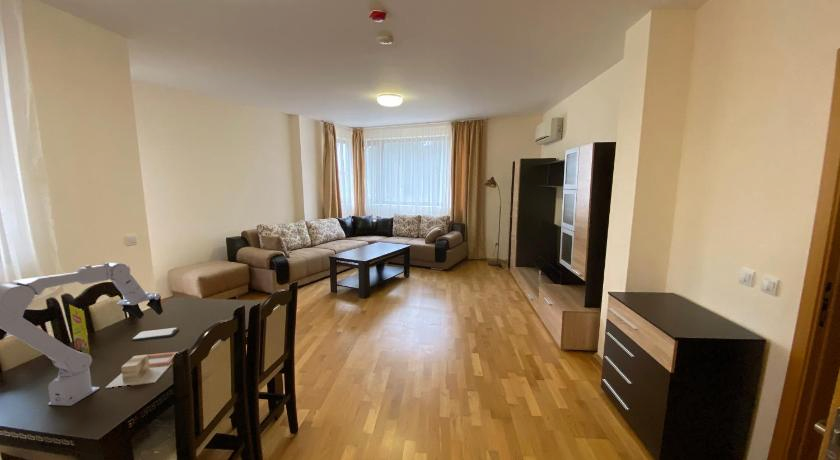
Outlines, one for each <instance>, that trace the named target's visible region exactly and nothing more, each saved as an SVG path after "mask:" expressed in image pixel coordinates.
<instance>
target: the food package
mask: <svg viewBox="0 0 840 460" xmlns="http://www.w3.org/2000/svg"><path fill="white" fill-rule="evenodd" d="M68 307H69V312H70V313H69V315H70V320H71V321H70V322H71V328H72V329H71V330H72V336H73V337H72V338H73V344H74V349H75V350H77V351H78V350H79V352H80V351H81V352H82V353H86V354H89V355H90V346H89V338H88V333H87V325H86V324H87V323H86V322H87V321H86V316H85V310H83V309H80V308H78V307H75V306H74V305H71V304H68ZM90 356H91V355H90Z"/></svg>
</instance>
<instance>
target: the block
mask: <svg viewBox="0 0 840 460" xmlns="http://www.w3.org/2000/svg"><path fill="white" fill-rule="evenodd" d="M148 355H149V354H141V355H140V354H139V355H134V356H132V357H131V358H130V359H128V360H127V362H125V363H124V364H122V366H120V367H121V373H122V378H123V382H132V381H138V380H139V379H140V378H141V377H142V376H143V375H144V374H145V373H146V372H147V371H148V370H149V360H148Z"/></svg>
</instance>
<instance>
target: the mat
mask: <svg viewBox="0 0 840 460" xmlns="http://www.w3.org/2000/svg"><path fill="white" fill-rule="evenodd" d="M170 357H171V356H168V357H159V358H149V359H148V360H149V363H154V362H163V361H168V359H169V358H170ZM172 364H173V363H172V362H171V363H170V364H169V365H163V366H154V367H149V370H148V371H147V372H146V373H145V374H144V375H143V376H142V377H141V378H140V379H139V380H138V381H132V382H123V378H122V372H121V373H120V374H118V376H117V377H115V378H114V379H113V380H112V381H111V382H110V383H109V384H107V386H105V389H113V388H112V387H114V388H119V387H118V386H122V387H128V386H127V385H131V386H137V385H145V384H146V385H147V384H155V383H156V382H157V381H158V380H159V379H160V378H161V377H162V376H163V375H164V374H165V372H166V371H167V370H168V369H169V367H170V366H172Z"/></svg>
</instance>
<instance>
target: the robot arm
mask: <svg viewBox="0 0 840 460" xmlns="http://www.w3.org/2000/svg"><path fill="white" fill-rule="evenodd" d="M108 280H110V281H111V282H112V283H113V285H114V286H115V288H116V289H117V290H118V291H119V292H120V294H121V295H122V296H123V297H124V298H123V299H121V300H119V301H118V302H117V303H116V304H117V305H118V307H119V308H122V309H121V311H122V312H125V313H127V314H130V315H133V316H134V317H136V318H137V319H139V320H140V319H142V318H143V317H144V315H145V314H144V312H143V310H142V309H141V307H140V305H139V304H141V303H143V302H147V301H148V302H147V304H146V306H147V307H149V308H150V309H152V310H153V311H154V312H155V313H156V314H157V315H158V316H160V315H161V314H162V313H163V312H164V310H163V307H162V303H161V301H162V298H161V297H162V295H161V294H160V293H159V292H147V290H144V289H143V288H142V287H141V285H140V283H138V281H137V280H136V279H135V278H134V276H133V275H132V274H131V268H130V266H127V265H126V264H124V263H120V262H116V261H115V262H114V261H113V262H112V261H111V262H109V261H108V262H105V263H103V264H99V265H92V264H86V265H84V267H80V268H78V269H77V270H76V271H75V272H67V273H60V274H59V273H58V274H53V275H51V274H50V275H44V276H35V277H34V276H33V277H28V278H27V277H26V278H21V279H15V280H12V282H8V281H7V282H0V329H1V330H3V331H4V332H6V333H8V334H9V335H10V336H13V337H14V338H16V339H18V340H19V341H21V342H23V343H24V344H26V345H27V346H29V347H31V348H33V349H35V350H36V351H38V352H39V353H41V354H43V355H45V356H47V358H48V359H50V360H51V361H52V364H53V365H54V367H55V368H58V372H57V377H56V378H54V379H52V381H51V382H49V384H48V386H47V388H48V389H47V391H48V398H49V402H48V404H47V405H48V406H49V405H50V406H73V405H74V404H77V403H78V402H80V401H82V399H84V398H86V397H87V396H90V395H91V394H93V393H95V392H97V391H98V390H100V387H99V386H92V377H91V371H90V370H91V369H90V366H91V364H92V363H93V357H92V355H89V354H90V353H89V354H86V353H82V352H80V351H78V350H77V349H75V348H72V347H70V346H68V345H66V344H65V343H63V342H61V341H60V340H58V339H57V338H55V337H54V336H52V335H50V334H49V333H48V332H46V331H45V330H42V329H41V328H39V327H38V326H37V325H35V324H33V323H32V322H31V321H29V320H27V319H26V318H24V314H25V310H26V309H27V308H28V307H29V305H30V304H31V303H33V300H34V299H35V295H36V296H40V295H41V294H42V293H43V292H44V291H45V290H46V289H49V288H52V287H58V286H64V285H69V284H73V283H79V284H81V285H87V284H88V285H89V284H95V283H99V282H105V281H108Z"/></svg>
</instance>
